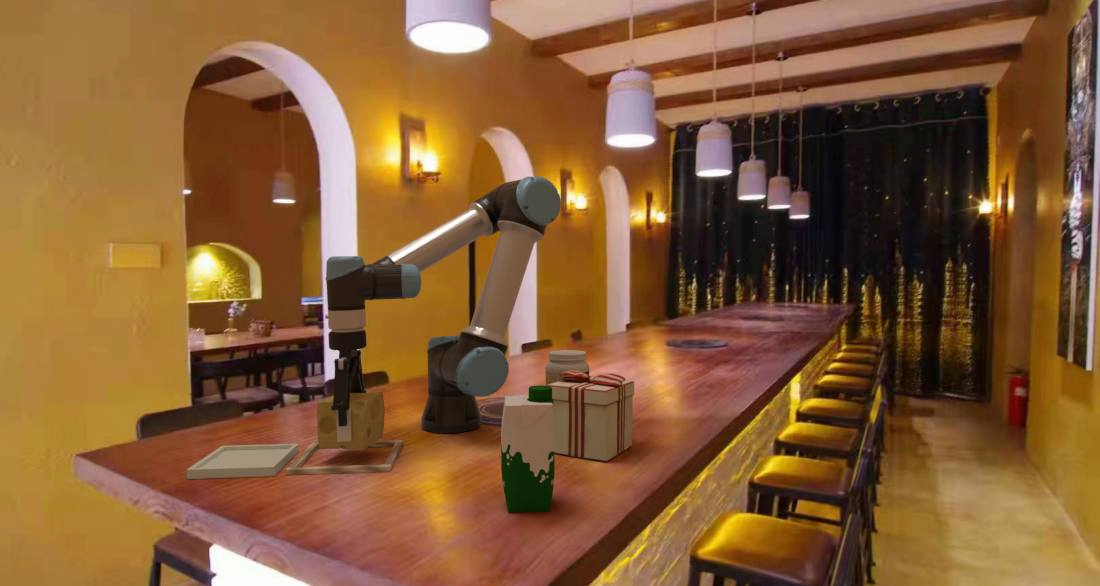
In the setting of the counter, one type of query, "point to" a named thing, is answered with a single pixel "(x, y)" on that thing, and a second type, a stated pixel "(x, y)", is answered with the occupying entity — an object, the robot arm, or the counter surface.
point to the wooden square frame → (298, 470)
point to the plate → (243, 461)
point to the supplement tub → (565, 364)
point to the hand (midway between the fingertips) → (351, 432)
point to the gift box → (592, 415)
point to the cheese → (352, 421)
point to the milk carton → (528, 450)
